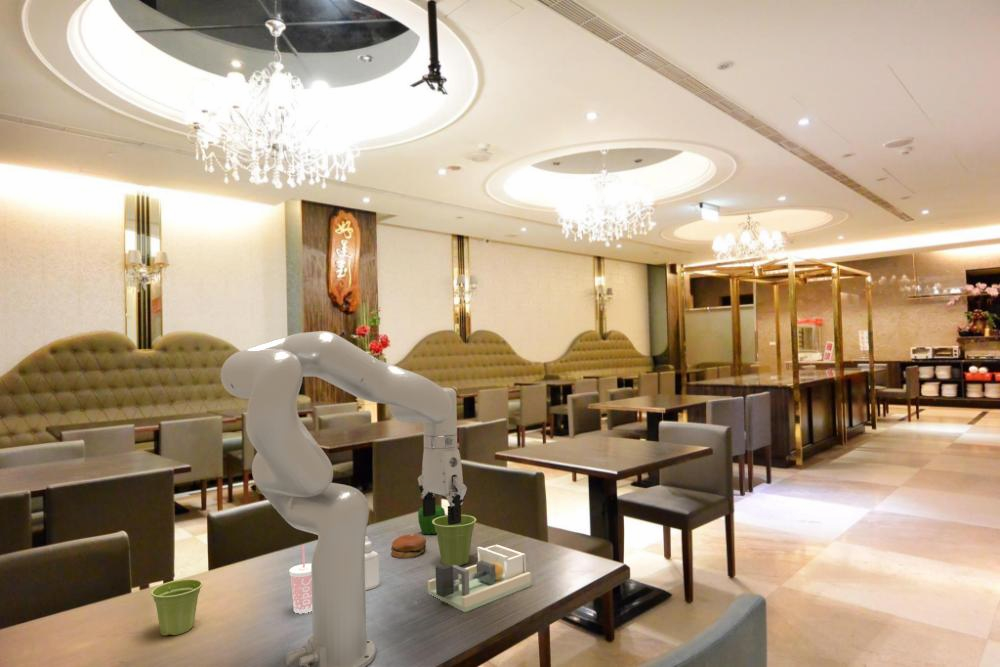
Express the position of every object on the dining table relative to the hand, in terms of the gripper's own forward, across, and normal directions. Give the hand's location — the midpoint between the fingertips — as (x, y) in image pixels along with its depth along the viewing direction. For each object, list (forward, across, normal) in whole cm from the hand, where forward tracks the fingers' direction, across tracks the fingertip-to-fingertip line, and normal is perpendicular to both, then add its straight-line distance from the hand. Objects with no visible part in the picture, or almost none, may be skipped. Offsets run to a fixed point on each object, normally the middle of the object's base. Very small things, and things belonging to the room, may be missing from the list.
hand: (441, 519), depth 129 cm
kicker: (+17, 0, -7) cm, 18 cm away
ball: (+15, 0, -16) cm, 22 cm away
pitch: (+18, 0, -11) cm, 21 cm away
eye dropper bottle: (+19, +21, +7) cm, 29 cm away
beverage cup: (+19, +20, +23) cm, 36 cm away
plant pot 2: (+18, +19, -18) cm, 32 cm away
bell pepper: (+18, +46, -29) cm, 57 cm away
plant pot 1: (+20, +30, +46) cm, 59 cm away
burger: (+18, +35, -13) cm, 42 cm away
